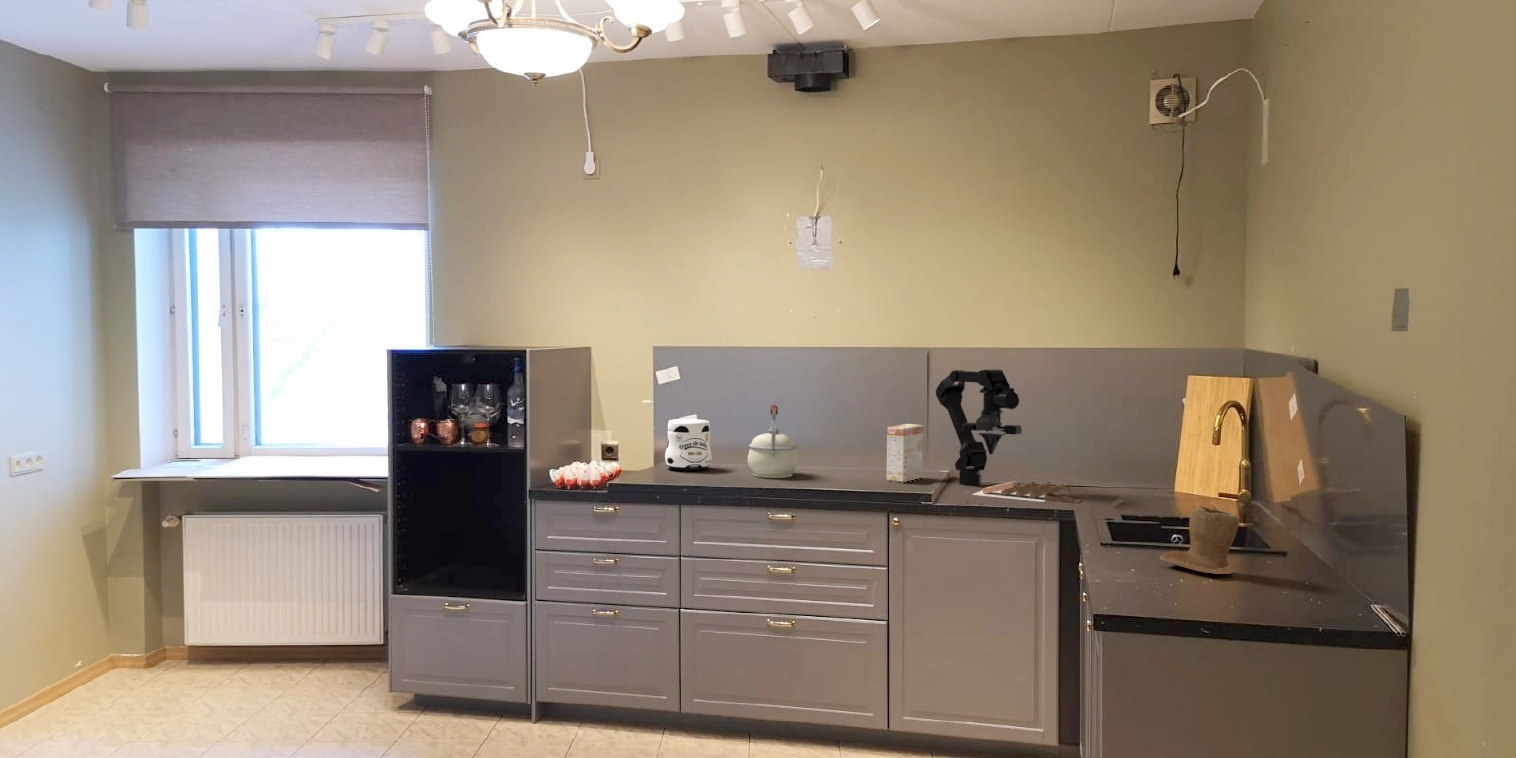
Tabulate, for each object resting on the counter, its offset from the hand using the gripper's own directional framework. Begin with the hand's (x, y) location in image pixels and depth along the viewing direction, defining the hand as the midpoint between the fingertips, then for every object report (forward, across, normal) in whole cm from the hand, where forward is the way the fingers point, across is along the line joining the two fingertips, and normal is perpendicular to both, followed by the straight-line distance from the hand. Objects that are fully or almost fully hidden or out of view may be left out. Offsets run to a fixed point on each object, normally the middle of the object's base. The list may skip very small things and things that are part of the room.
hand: (991, 454), depth 353 cm
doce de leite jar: (+12, -109, -24) cm, 112 cm away
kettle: (+12, -78, -14) cm, 80 cm away
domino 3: (+11, +12, -6) cm, 18 cm away
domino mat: (+13, +10, -4) cm, 17 cm away
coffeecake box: (+12, -35, +7) cm, 38 cm away
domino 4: (+11, +17, -6) cm, 21 cm away
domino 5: (+11, +21, -6) cm, 25 cm away
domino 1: (+11, +1, -7) cm, 13 cm away
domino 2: (+11, +8, -7) cm, 15 cm away
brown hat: (+15, +82, -73) cm, 111 cm away
